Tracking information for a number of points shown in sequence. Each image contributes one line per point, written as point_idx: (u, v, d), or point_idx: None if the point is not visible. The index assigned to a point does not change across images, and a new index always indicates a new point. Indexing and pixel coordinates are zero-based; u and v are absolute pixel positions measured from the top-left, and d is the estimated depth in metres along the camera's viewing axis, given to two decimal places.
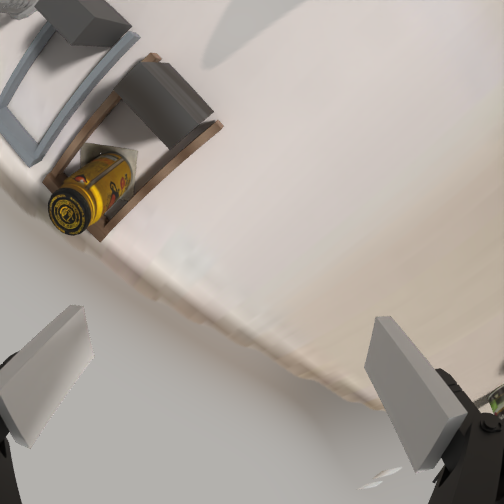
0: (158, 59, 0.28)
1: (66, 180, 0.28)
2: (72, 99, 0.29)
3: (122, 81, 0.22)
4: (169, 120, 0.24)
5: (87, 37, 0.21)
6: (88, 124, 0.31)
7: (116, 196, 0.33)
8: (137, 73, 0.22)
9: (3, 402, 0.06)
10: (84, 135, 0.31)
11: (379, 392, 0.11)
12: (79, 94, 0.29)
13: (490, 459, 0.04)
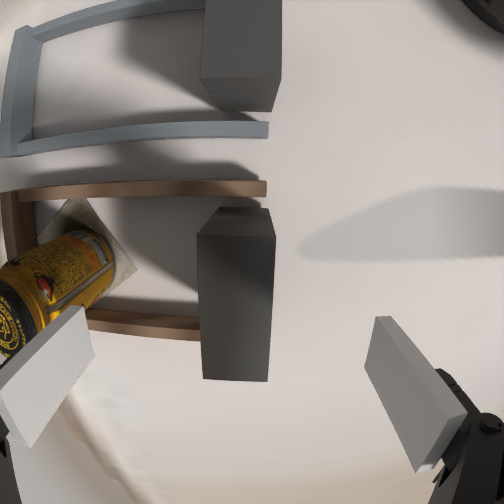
0: None
1: (24, 266, 0.15)
2: (114, 131, 0.19)
3: (222, 238, 0.14)
4: (236, 351, 0.15)
5: (227, 87, 0.14)
6: (105, 188, 0.20)
7: None
8: (255, 251, 0.14)
9: (3, 402, 0.06)
10: (89, 196, 0.20)
11: (379, 392, 0.11)
12: (128, 135, 0.19)
13: (490, 459, 0.04)
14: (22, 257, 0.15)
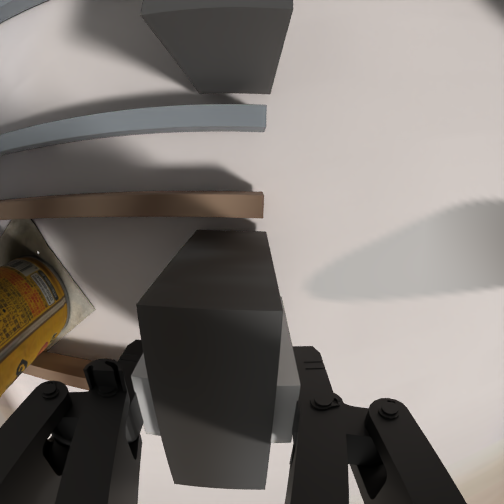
0: None
1: None
2: (53, 128, 0.12)
3: (182, 312, 0.07)
4: (219, 462, 0.09)
5: (196, 37, 0.07)
6: (44, 206, 0.13)
7: None
8: (244, 335, 0.07)
9: None
10: (26, 216, 0.13)
11: None
12: (69, 132, 0.12)
13: (330, 439, 0.06)
14: None
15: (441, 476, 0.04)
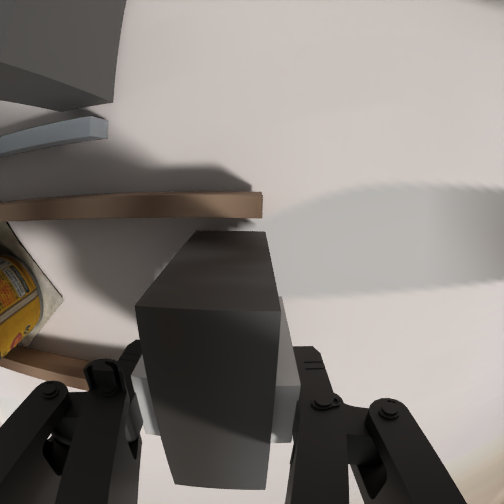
0: None
1: None
2: None
3: (180, 313, 0.07)
4: (219, 462, 0.09)
5: None
6: (43, 207, 0.13)
7: None
8: (243, 335, 0.07)
9: None
10: (26, 218, 0.13)
11: None
12: None
13: (330, 439, 0.06)
14: None
15: (441, 477, 0.04)
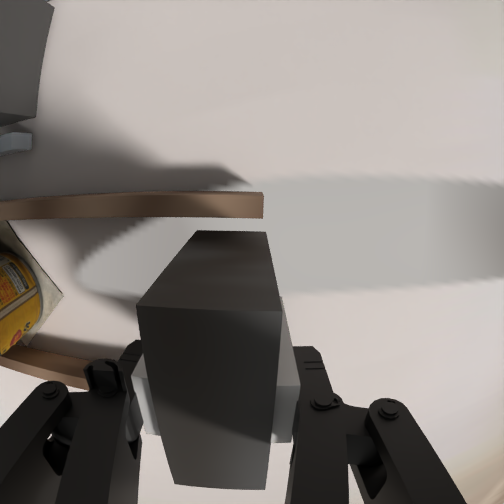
0: None
1: None
2: None
3: (181, 313, 0.07)
4: (219, 462, 0.09)
5: None
6: (44, 206, 0.13)
7: None
8: (244, 335, 0.07)
9: None
10: (26, 216, 0.13)
11: None
12: None
13: (330, 439, 0.06)
14: None
15: (441, 477, 0.04)
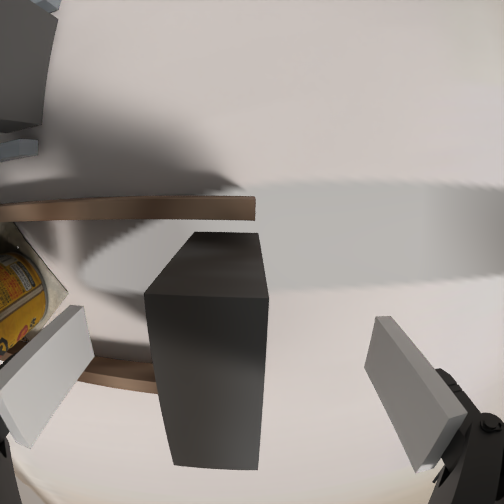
0: None
1: None
2: None
3: (183, 300, 0.08)
4: (215, 441, 0.10)
5: None
6: (52, 209, 0.15)
7: (4, 353, 0.14)
8: (236, 319, 0.09)
9: (3, 402, 0.06)
10: (35, 218, 0.15)
11: (379, 391, 0.11)
12: None
13: (490, 459, 0.04)
14: None
15: None
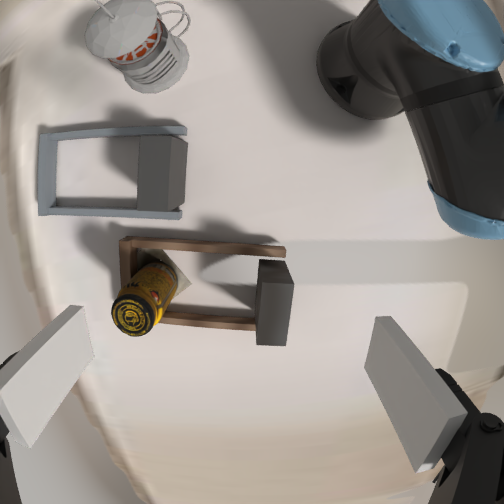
0: None
1: (142, 286, 0.34)
2: (104, 211, 0.38)
3: (272, 284, 0.34)
4: (273, 331, 0.35)
5: None
6: (198, 247, 0.40)
7: None
8: (285, 289, 0.34)
9: (3, 402, 0.06)
10: (187, 249, 0.40)
11: (379, 392, 0.11)
12: (111, 214, 0.39)
13: (490, 459, 0.04)
14: (138, 281, 0.35)
15: None
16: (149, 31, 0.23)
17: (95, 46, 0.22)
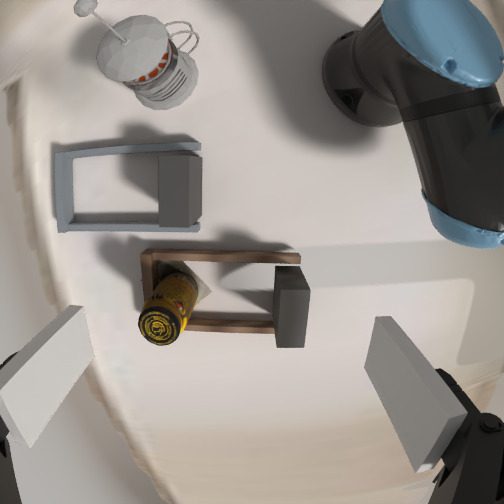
0: None
1: (166, 298, 0.37)
2: (124, 226, 0.41)
3: (290, 290, 0.36)
4: (292, 334, 0.38)
5: None
6: (217, 257, 0.42)
7: None
8: (302, 295, 0.36)
9: (3, 402, 0.06)
10: (207, 260, 0.42)
11: (379, 392, 0.11)
12: (131, 229, 0.41)
13: (490, 459, 0.04)
14: (162, 293, 0.37)
15: None
16: (162, 54, 0.25)
17: (108, 69, 0.25)
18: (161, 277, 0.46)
